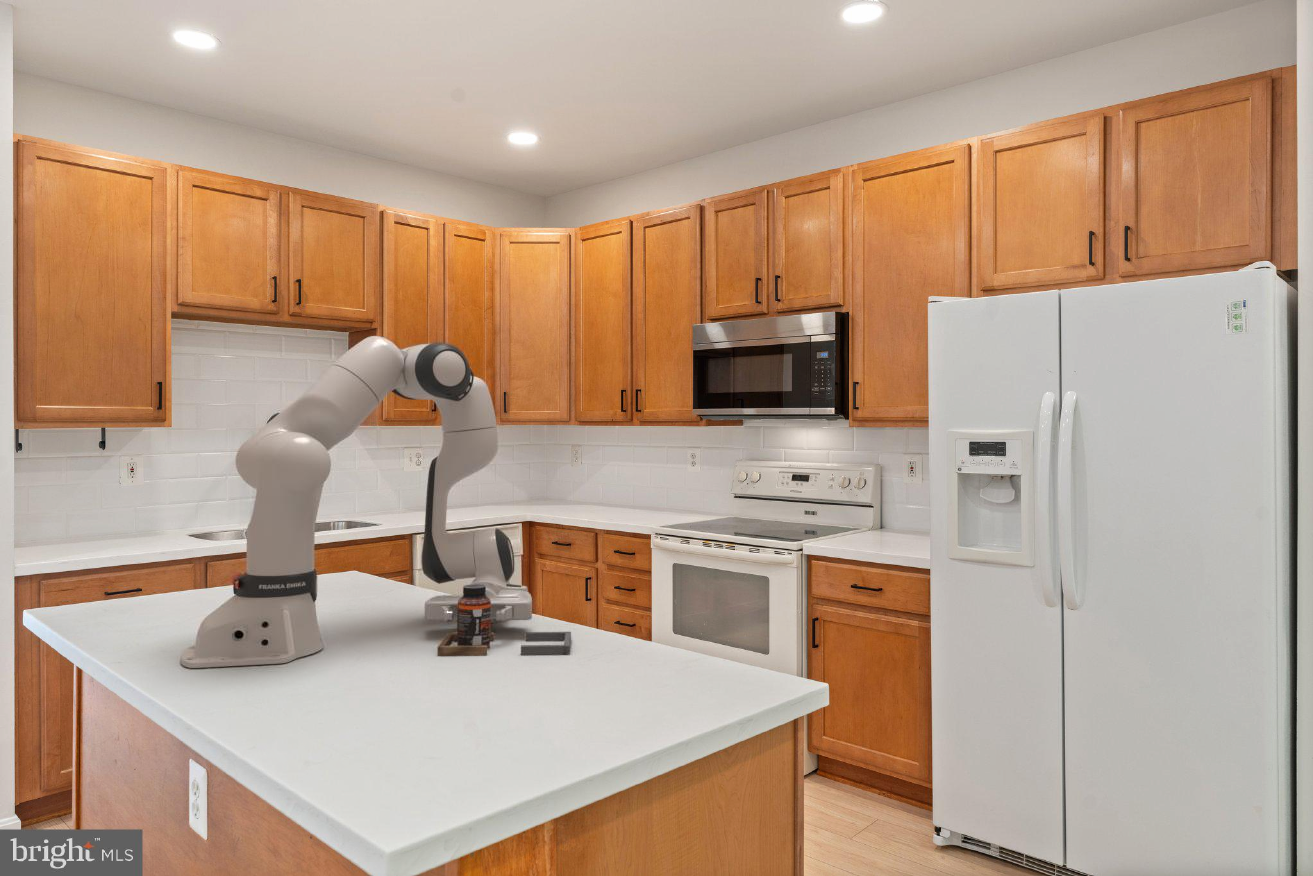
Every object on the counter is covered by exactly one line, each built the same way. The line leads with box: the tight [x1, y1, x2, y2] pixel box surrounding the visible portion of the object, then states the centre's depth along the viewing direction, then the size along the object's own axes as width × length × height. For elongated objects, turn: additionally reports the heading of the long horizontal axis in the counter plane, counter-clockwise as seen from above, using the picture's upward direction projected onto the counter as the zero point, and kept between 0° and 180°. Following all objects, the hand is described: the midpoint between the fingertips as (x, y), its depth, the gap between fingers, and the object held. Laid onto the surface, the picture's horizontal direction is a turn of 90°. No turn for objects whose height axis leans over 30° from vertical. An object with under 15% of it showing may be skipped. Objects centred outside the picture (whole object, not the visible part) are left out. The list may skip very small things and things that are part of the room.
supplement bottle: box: [456, 583, 491, 649], centre depth 154 cm, size 6×6×11 cm
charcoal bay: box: [520, 631, 572, 656], centre depth 155 cm, size 8×11×2 cm
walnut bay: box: [436, 631, 495, 657], centre depth 154 cm, size 8×11×2 cm
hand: (474, 616), depth 155 cm, fingers open, 8 cm apart
